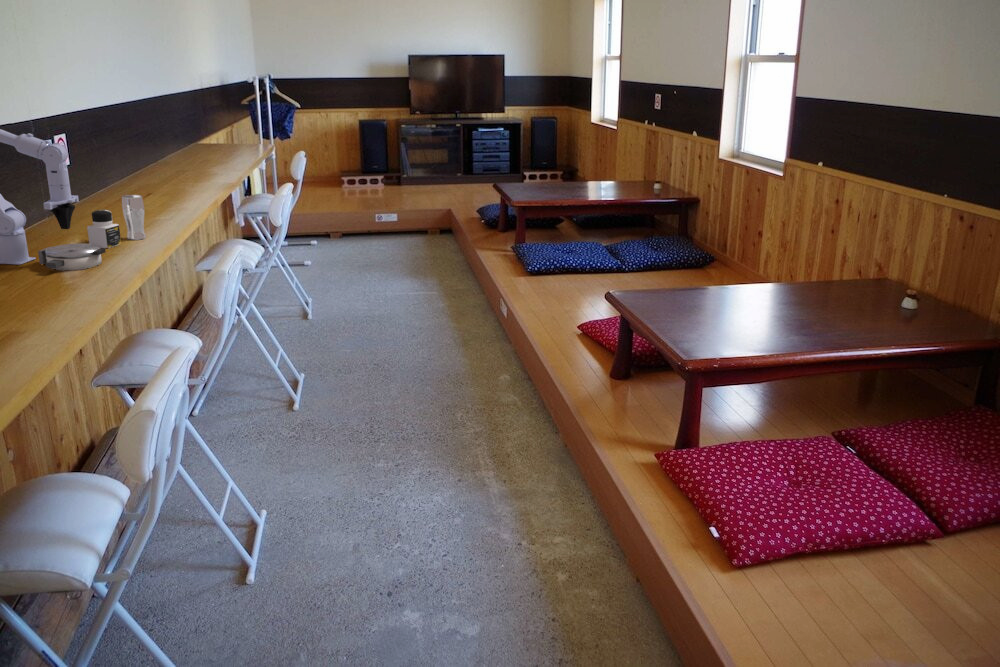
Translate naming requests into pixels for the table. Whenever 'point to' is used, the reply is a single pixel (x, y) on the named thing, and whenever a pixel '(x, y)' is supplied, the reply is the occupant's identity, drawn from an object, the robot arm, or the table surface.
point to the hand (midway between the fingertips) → (65, 228)
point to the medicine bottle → (103, 230)
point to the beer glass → (134, 216)
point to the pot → (69, 262)
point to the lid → (73, 250)
